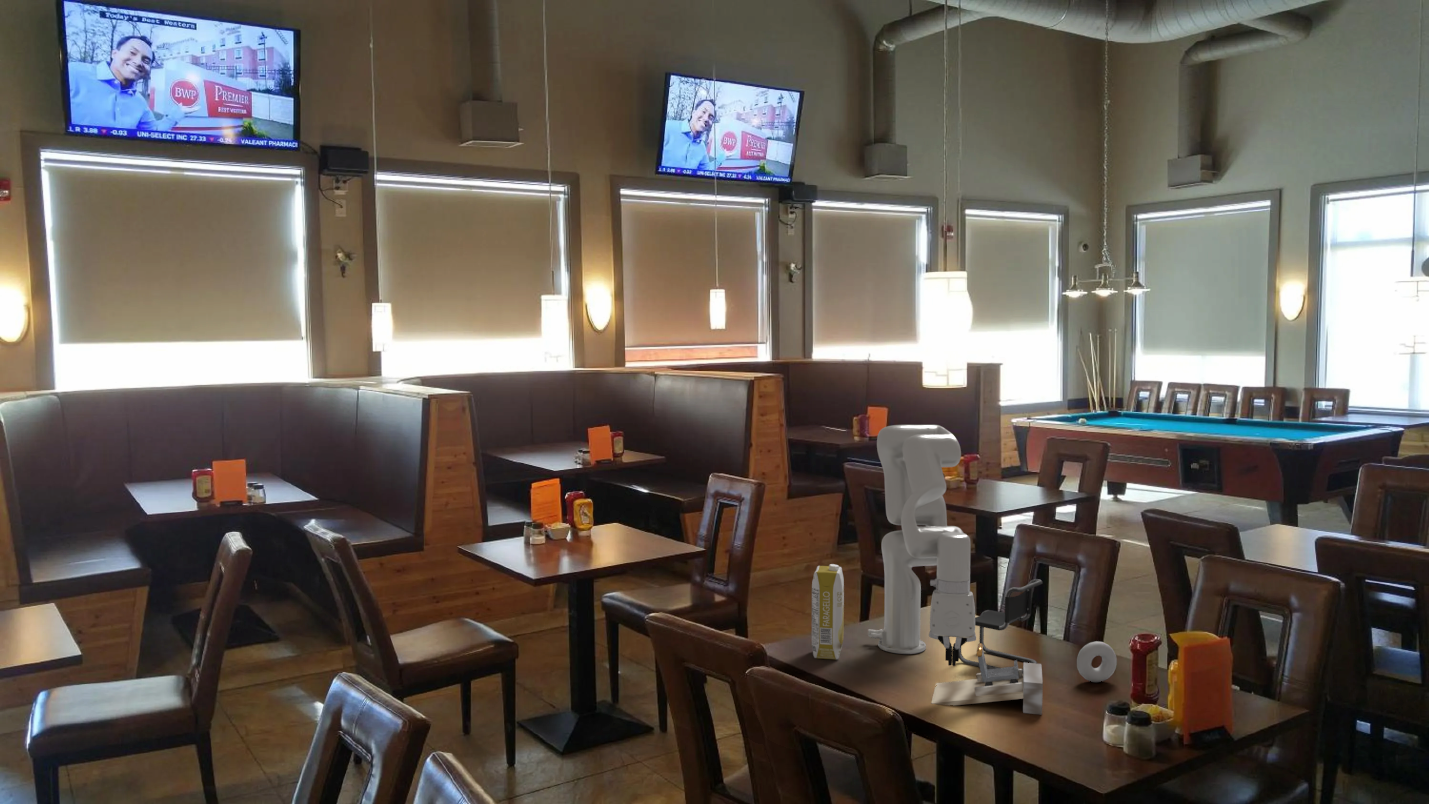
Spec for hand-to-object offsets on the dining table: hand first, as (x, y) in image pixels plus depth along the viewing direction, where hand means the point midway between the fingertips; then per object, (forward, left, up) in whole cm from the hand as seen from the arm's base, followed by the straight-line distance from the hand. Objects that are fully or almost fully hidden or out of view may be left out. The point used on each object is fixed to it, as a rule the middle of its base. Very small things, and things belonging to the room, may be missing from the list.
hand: (952, 663), depth 234 cm
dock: (+8, 0, -8) cm, 11 cm away
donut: (+33, +19, -8) cm, 39 cm away
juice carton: (-33, +21, -8) cm, 40 cm away
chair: (+10, +27, -8) cm, 30 cm away
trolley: (+10, 0, -4) cm, 11 cm away
